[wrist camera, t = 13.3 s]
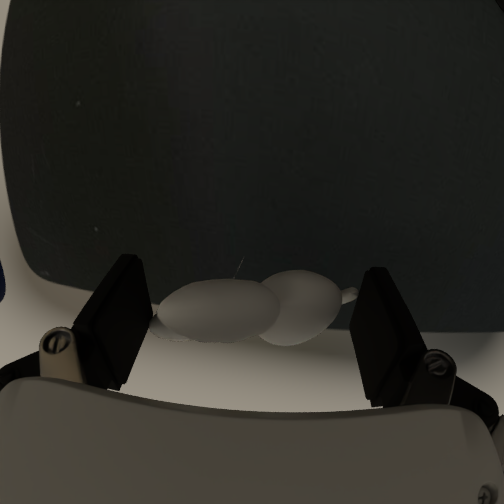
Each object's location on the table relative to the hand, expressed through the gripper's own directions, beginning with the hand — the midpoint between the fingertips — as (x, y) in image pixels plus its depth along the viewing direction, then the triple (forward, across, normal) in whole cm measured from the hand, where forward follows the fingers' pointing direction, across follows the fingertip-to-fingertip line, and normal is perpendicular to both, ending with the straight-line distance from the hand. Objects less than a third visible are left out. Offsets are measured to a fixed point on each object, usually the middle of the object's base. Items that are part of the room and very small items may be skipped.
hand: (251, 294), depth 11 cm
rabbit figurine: (+2, 0, 0) cm, 2 cm away
